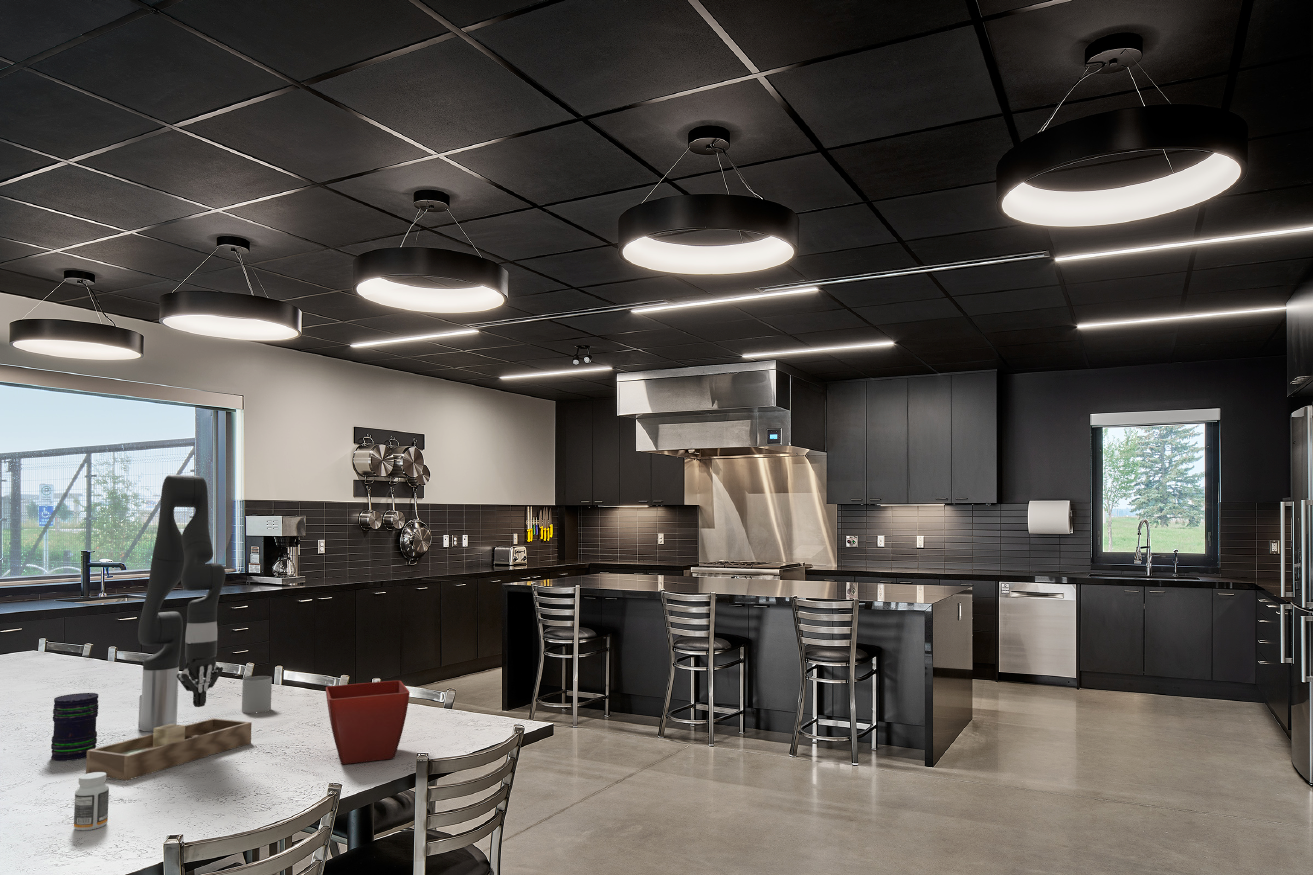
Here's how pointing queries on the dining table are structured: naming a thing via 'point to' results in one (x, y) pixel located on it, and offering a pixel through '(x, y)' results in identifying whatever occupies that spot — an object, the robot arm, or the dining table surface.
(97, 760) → the long open wooden box
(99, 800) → the pill bottle
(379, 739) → the plant pot
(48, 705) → the dining table surface
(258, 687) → the cup
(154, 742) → the maple block
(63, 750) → the storage jar
